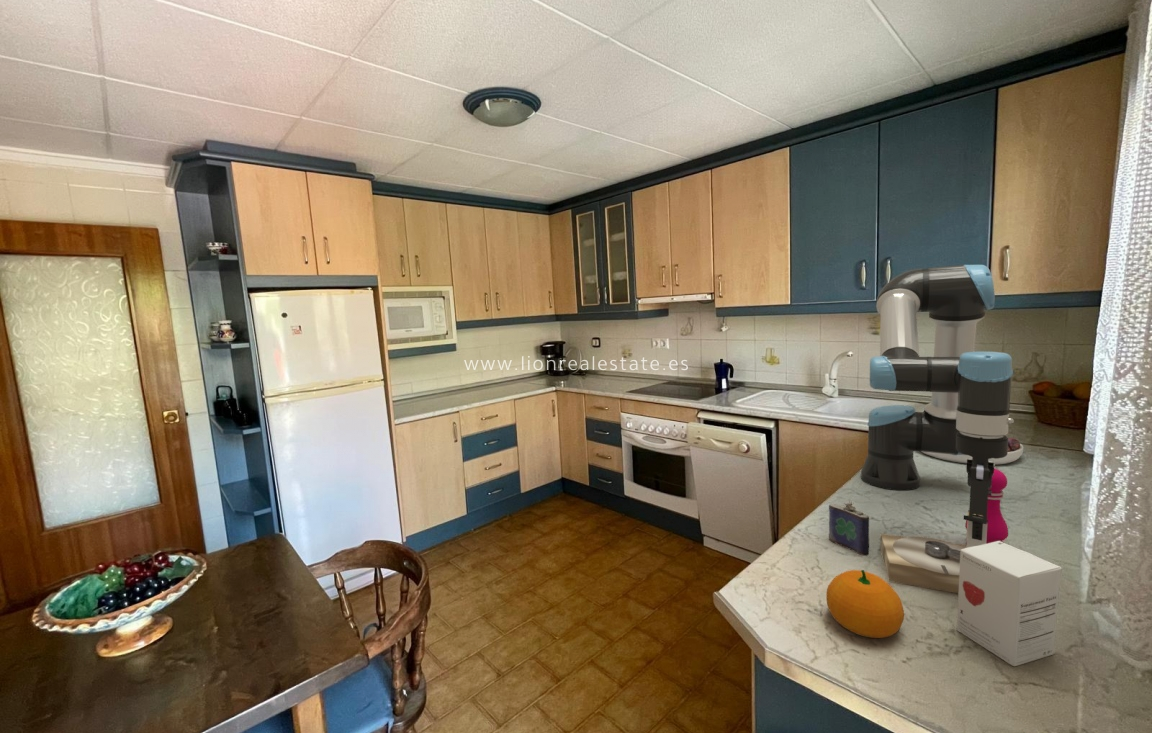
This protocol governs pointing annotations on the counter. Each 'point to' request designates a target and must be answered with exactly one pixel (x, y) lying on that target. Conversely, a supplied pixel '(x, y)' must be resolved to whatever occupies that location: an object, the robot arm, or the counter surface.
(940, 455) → the bowl
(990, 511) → the pepper mill
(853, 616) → the fruit
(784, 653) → the counter surface
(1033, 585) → the supplement box
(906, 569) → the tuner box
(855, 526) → the flask
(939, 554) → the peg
